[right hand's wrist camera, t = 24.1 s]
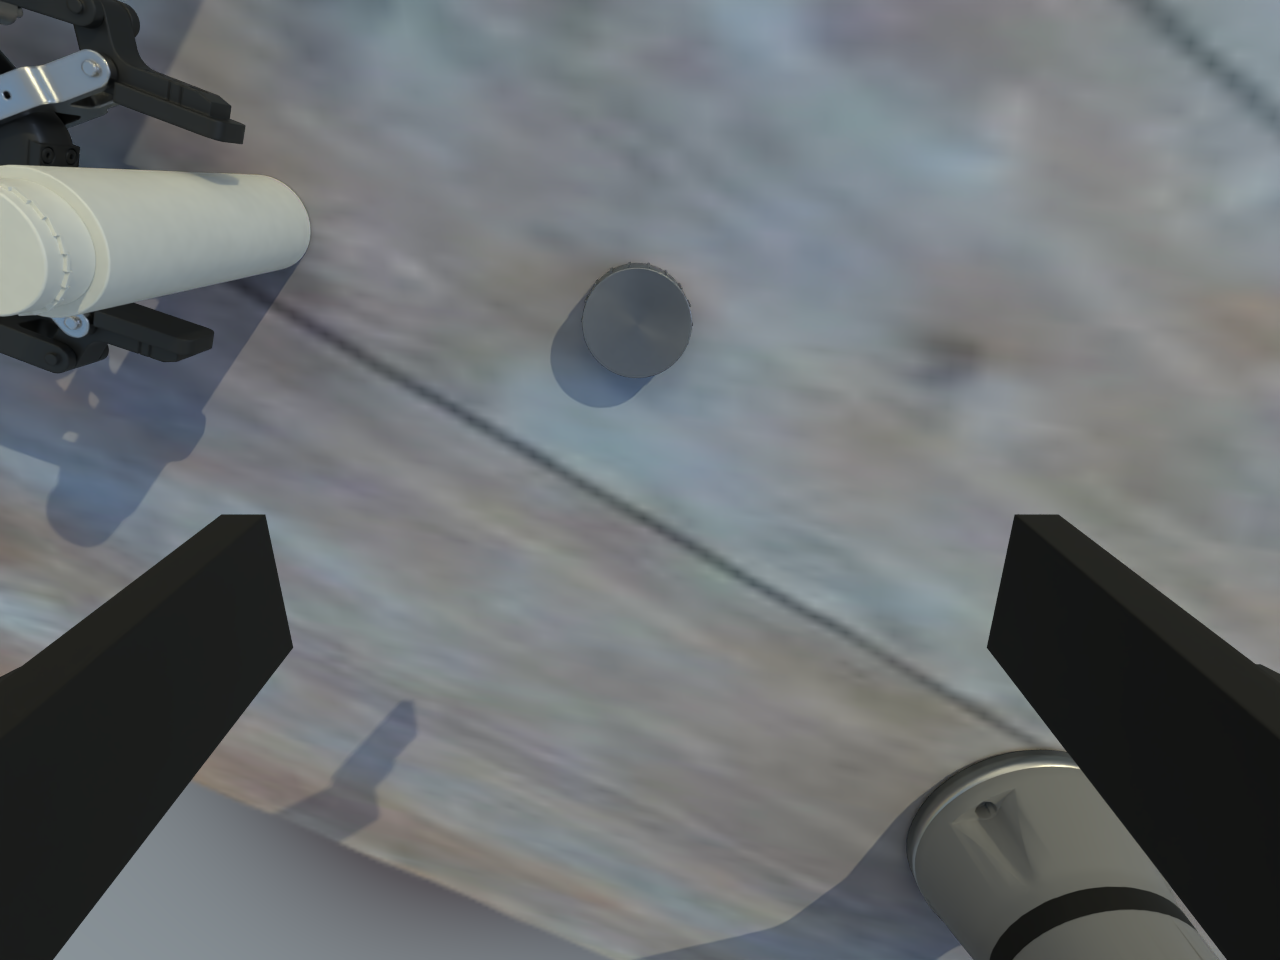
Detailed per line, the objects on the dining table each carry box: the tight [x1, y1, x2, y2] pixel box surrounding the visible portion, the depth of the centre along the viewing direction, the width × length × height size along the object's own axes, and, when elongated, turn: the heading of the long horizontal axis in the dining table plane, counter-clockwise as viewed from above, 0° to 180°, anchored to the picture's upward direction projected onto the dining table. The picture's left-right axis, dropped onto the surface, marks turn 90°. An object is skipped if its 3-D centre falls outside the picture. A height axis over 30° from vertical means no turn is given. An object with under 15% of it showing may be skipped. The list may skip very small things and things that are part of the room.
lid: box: [581, 262, 693, 378], centre depth 35 cm, size 5×5×2 cm
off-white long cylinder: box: [0, 165, 311, 318], centre depth 27 cm, size 4×4×16 cm
